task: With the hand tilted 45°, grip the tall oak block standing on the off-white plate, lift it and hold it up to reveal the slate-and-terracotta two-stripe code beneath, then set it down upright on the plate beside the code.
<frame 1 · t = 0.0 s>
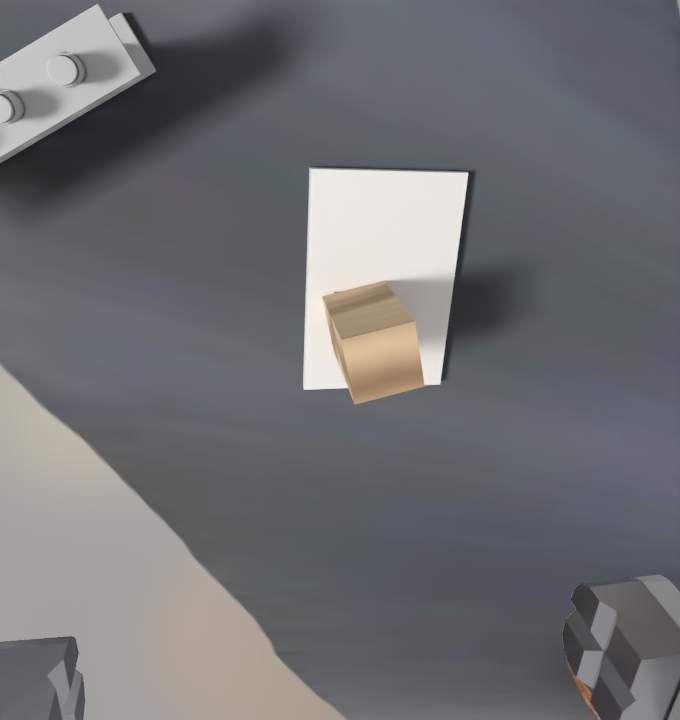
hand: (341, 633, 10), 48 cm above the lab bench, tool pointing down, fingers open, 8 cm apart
test tube rack: (1, 124, 49), on the lab bench
tin: (582, 671, 91), on the lab bench
oak block: (358, 317, 60), point 1 cm above the lab bench, touching code plate
code plate: (379, 284, 60), on the lab bench
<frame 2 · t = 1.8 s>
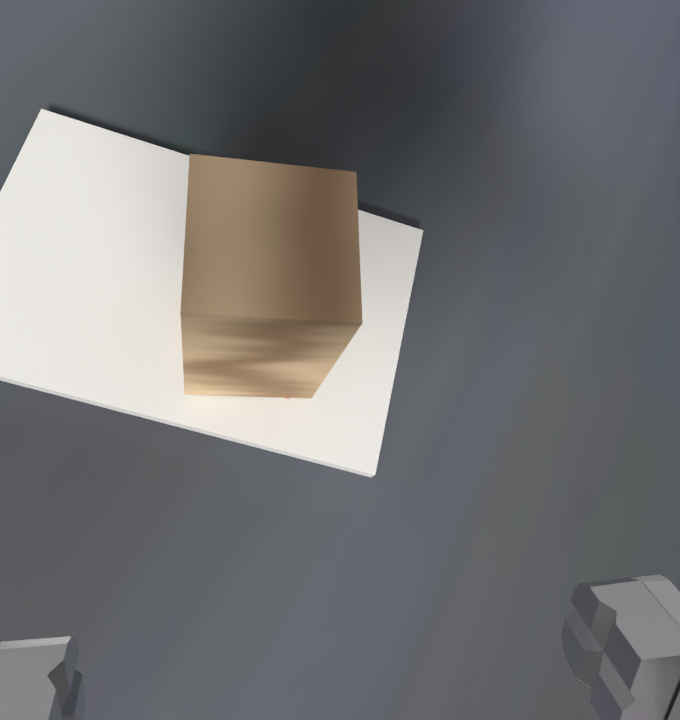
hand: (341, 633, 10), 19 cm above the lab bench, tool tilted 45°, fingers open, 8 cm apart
oak block: (250, 337, 31), point 1 cm above the lab bench, touching code plate
code plate: (202, 291, 32), on the lab bench
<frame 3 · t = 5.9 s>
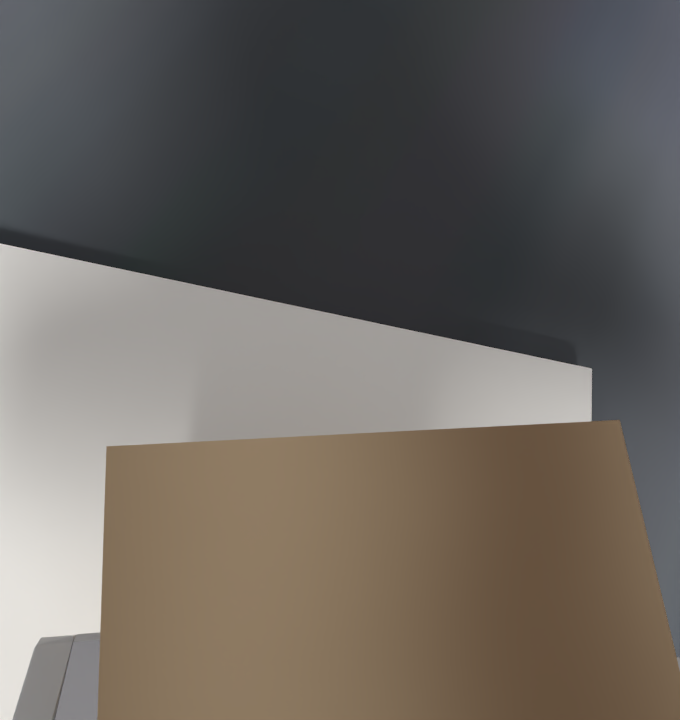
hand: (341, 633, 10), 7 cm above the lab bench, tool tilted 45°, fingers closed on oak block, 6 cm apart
oak block: (304, 646, 16), point 1 cm above the lab bench, touching code plate, gripper
code plate: (203, 544, 17), on the lab bench
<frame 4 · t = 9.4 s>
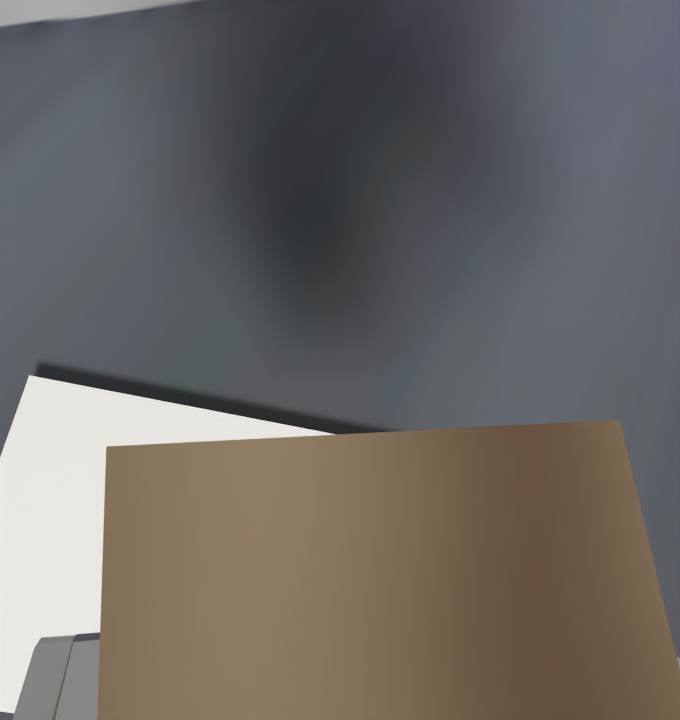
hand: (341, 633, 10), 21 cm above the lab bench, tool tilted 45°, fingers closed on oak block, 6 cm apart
oak block: (304, 646, 16), point 15 cm above the lab bench, touching gripper
code plate: (214, 563, 30), on the lab bench
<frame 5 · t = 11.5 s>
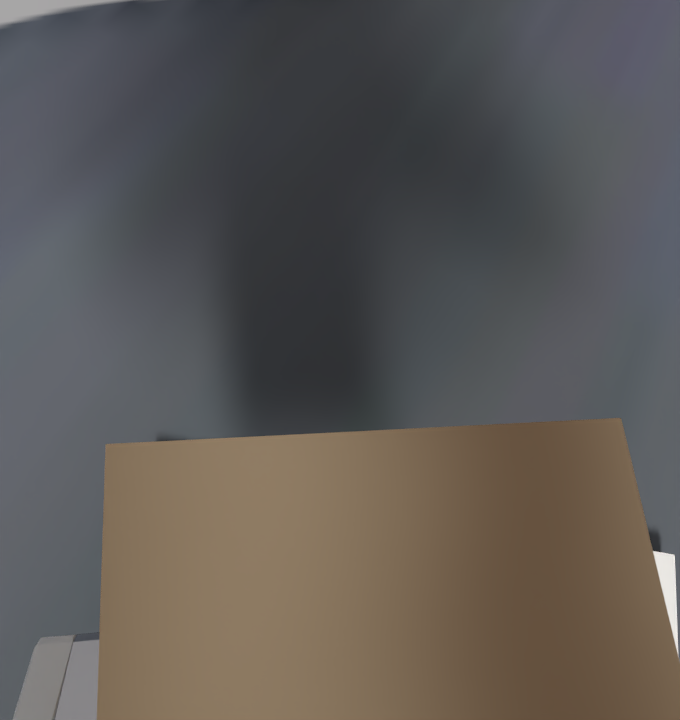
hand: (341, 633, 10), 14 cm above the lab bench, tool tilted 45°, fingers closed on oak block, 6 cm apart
oak block: (305, 645, 15), point 8 cm above the lab bench, touching gripper
code plate: (398, 707, 23), on the lab bench
when the fingers open (8 cm above the lab bench, at t = 13.1 s): oak block drops 1 cm, resting on code plate.
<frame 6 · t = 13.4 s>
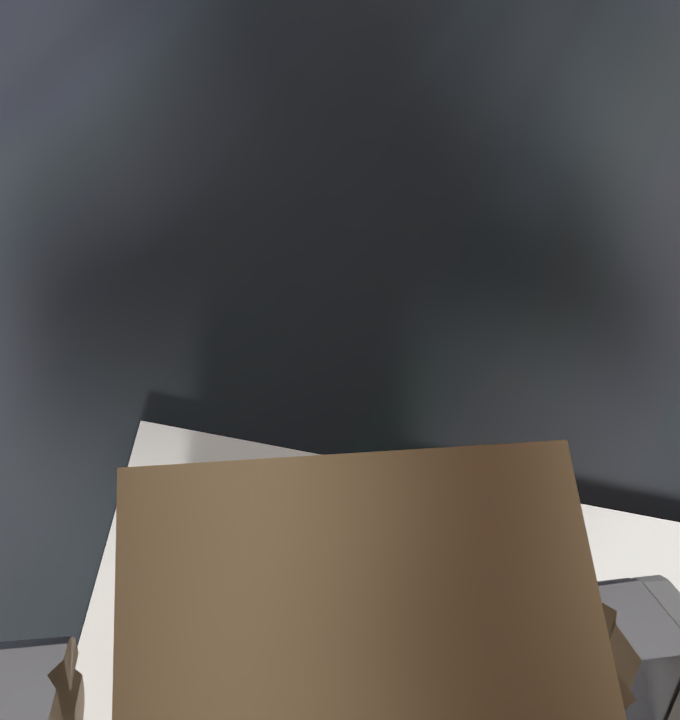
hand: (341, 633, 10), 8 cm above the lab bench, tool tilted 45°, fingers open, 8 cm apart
oak block: (297, 642, 17), point 1 cm above the lab bench, touching code plate
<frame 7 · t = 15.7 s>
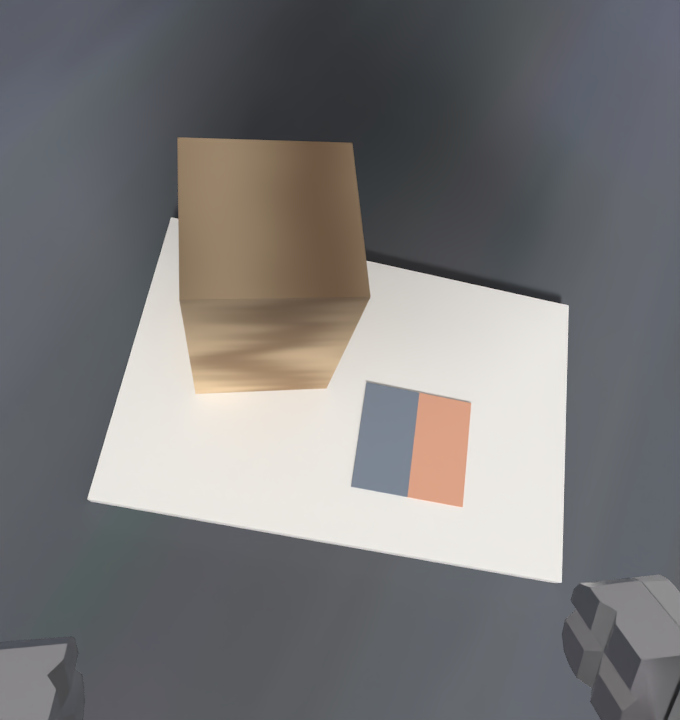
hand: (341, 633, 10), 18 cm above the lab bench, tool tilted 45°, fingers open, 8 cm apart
oak block: (258, 330, 30), point 1 cm above the lab bench, touching code plate
code plate: (353, 395, 31), on the lab bench
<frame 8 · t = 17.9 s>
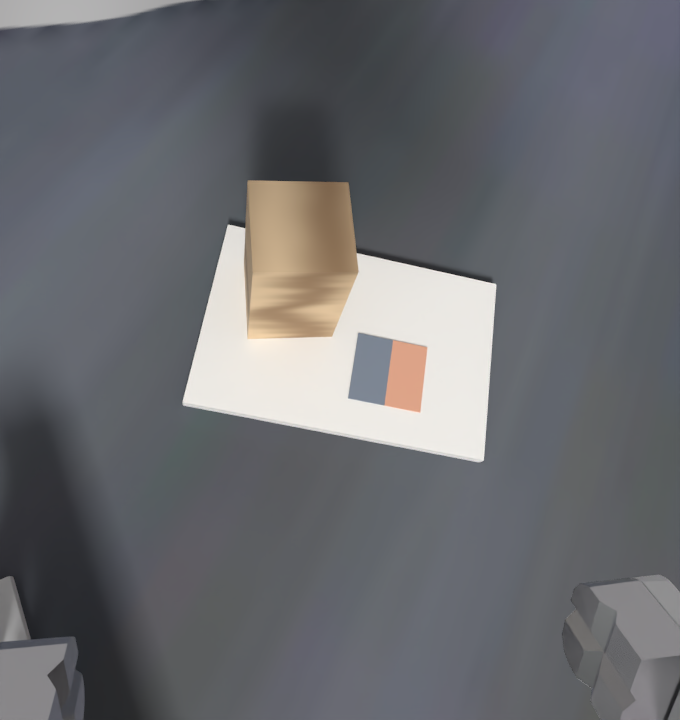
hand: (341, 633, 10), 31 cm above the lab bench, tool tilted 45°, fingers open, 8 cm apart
oak block: (287, 299, 46), point 1 cm above the lab bench, touching code plate
code plate: (349, 342, 46), on the lab bench
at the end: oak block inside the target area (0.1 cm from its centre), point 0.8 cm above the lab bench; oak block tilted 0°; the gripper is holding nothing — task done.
